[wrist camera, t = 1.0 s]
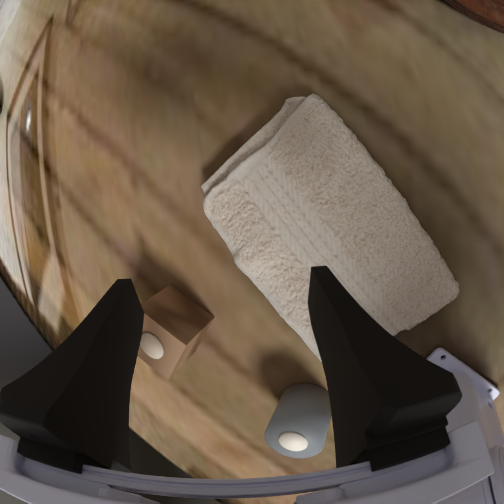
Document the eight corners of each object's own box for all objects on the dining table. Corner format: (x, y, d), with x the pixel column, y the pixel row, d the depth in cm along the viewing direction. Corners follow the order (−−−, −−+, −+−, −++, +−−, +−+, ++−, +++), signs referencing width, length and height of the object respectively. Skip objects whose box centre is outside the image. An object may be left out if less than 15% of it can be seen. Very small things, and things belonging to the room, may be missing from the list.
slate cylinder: (344, 400, 25) (336, 442, 20) (313, 427, 27) (300, 466, 22) (300, 373, 26) (284, 413, 21) (271, 402, 28) (253, 440, 23)
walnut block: (215, 316, 27) (184, 346, 22) (195, 350, 29) (166, 381, 24) (170, 284, 28) (135, 307, 23) (155, 320, 30) (123, 345, 25)
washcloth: (310, 88, 19) (301, 77, 17) (462, 282, 19) (473, 299, 16) (201, 194, 25) (180, 200, 22) (340, 361, 24) (336, 384, 22)
